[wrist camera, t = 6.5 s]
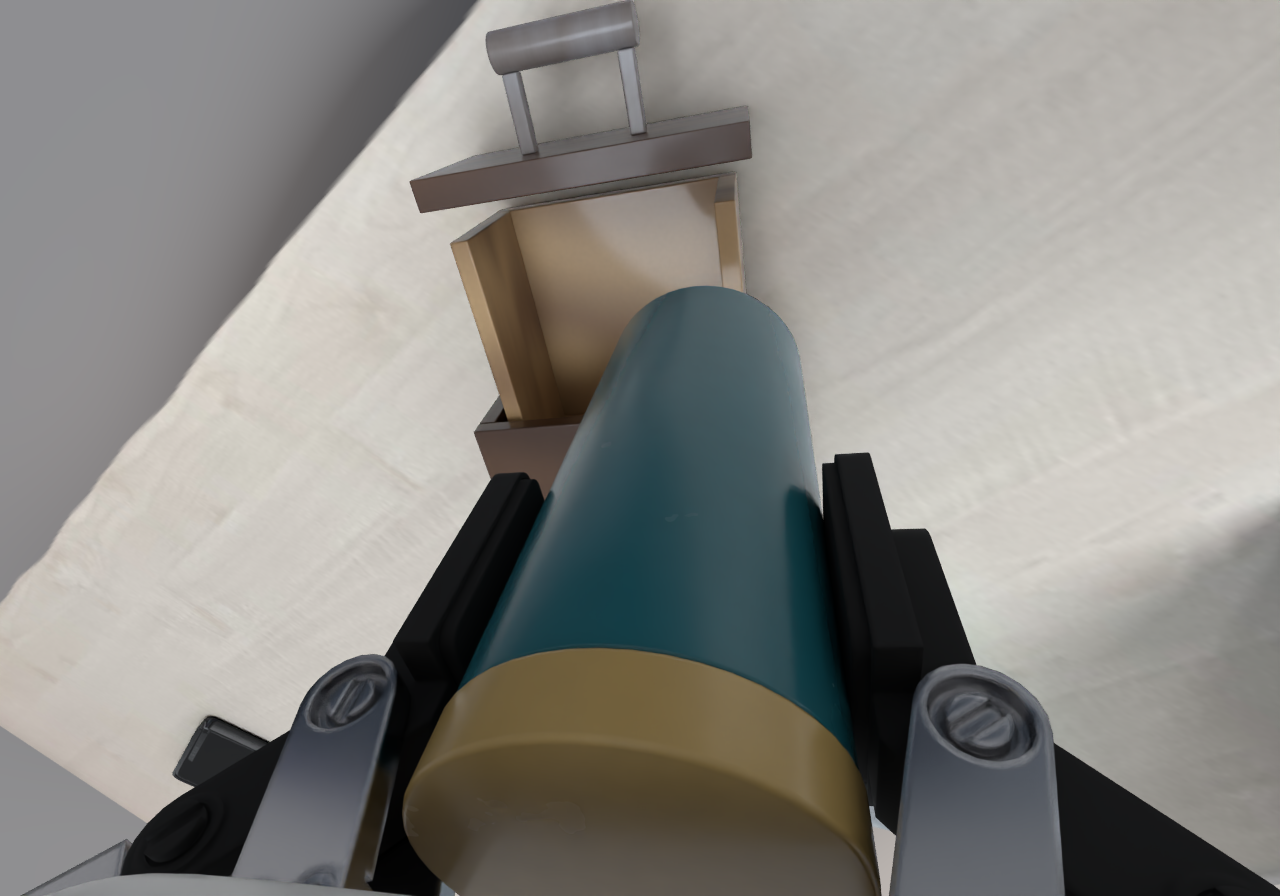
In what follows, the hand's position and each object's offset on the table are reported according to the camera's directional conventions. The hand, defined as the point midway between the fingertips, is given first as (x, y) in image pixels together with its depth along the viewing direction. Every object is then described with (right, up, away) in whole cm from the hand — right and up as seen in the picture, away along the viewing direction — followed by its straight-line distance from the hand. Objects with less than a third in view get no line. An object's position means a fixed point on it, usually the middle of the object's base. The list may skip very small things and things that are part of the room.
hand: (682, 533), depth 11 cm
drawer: (-1, +12, +19) cm, 23 cm away
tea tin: (+1, +3, +5) cm, 6 cm away
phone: (-47, -33, +57) cm, 80 cm away
